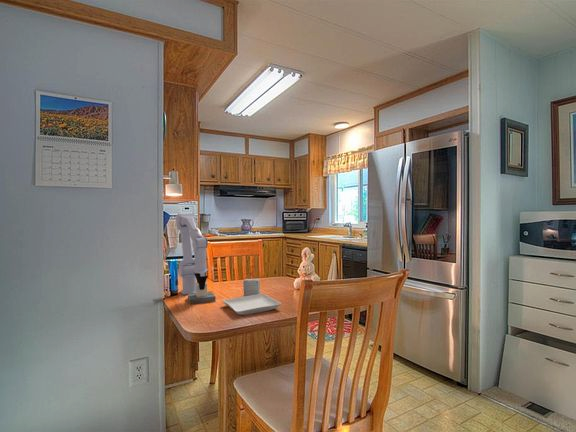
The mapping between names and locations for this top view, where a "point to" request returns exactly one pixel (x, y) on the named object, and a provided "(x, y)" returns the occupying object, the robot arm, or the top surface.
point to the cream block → (201, 292)
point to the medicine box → (251, 287)
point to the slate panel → (201, 298)
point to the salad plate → (252, 304)
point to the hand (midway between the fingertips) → (201, 288)
